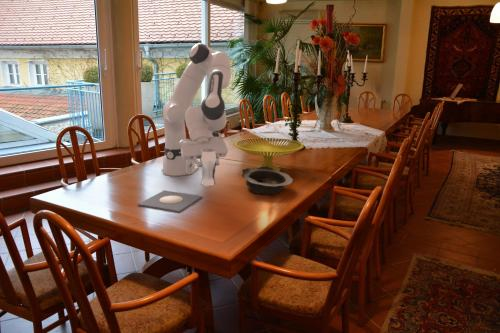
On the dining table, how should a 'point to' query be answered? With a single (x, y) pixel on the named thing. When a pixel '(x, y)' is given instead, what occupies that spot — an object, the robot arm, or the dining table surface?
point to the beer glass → (208, 167)
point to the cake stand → (268, 149)
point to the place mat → (170, 201)
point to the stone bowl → (265, 180)
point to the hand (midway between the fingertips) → (208, 165)
